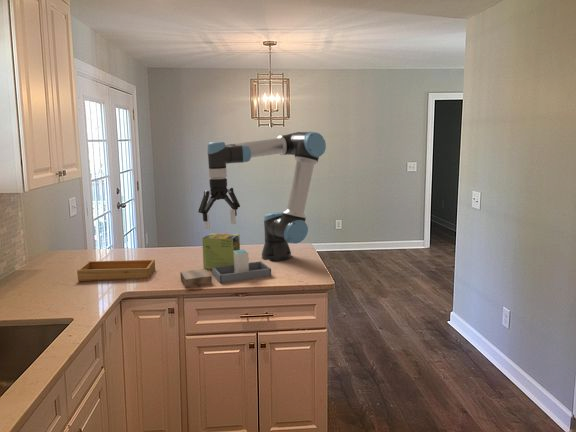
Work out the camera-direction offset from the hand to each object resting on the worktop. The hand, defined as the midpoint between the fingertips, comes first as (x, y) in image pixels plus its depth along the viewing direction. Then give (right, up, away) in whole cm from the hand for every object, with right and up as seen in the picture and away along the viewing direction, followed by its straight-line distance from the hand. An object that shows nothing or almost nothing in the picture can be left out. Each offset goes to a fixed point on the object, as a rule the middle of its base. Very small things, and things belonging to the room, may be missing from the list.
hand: (220, 226), depth 214 cm
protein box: (-2, -20, +19) cm, 28 cm away
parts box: (+9, -22, +3) cm, 24 cm away
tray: (-48, -23, +9) cm, 54 cm away
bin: (+9, -23, +3) cm, 25 cm away
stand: (-10, -24, -4) cm, 27 cm away
